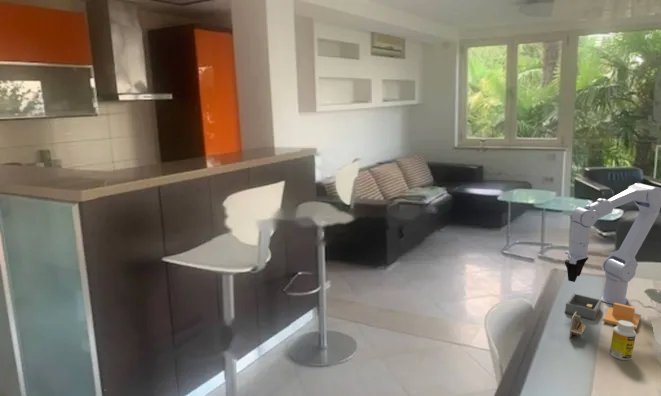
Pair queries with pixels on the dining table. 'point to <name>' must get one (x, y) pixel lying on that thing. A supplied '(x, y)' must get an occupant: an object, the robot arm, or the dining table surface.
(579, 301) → the tub
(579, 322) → the architectural model
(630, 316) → the lid
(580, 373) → the dining table surface
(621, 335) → the supplement bottle
